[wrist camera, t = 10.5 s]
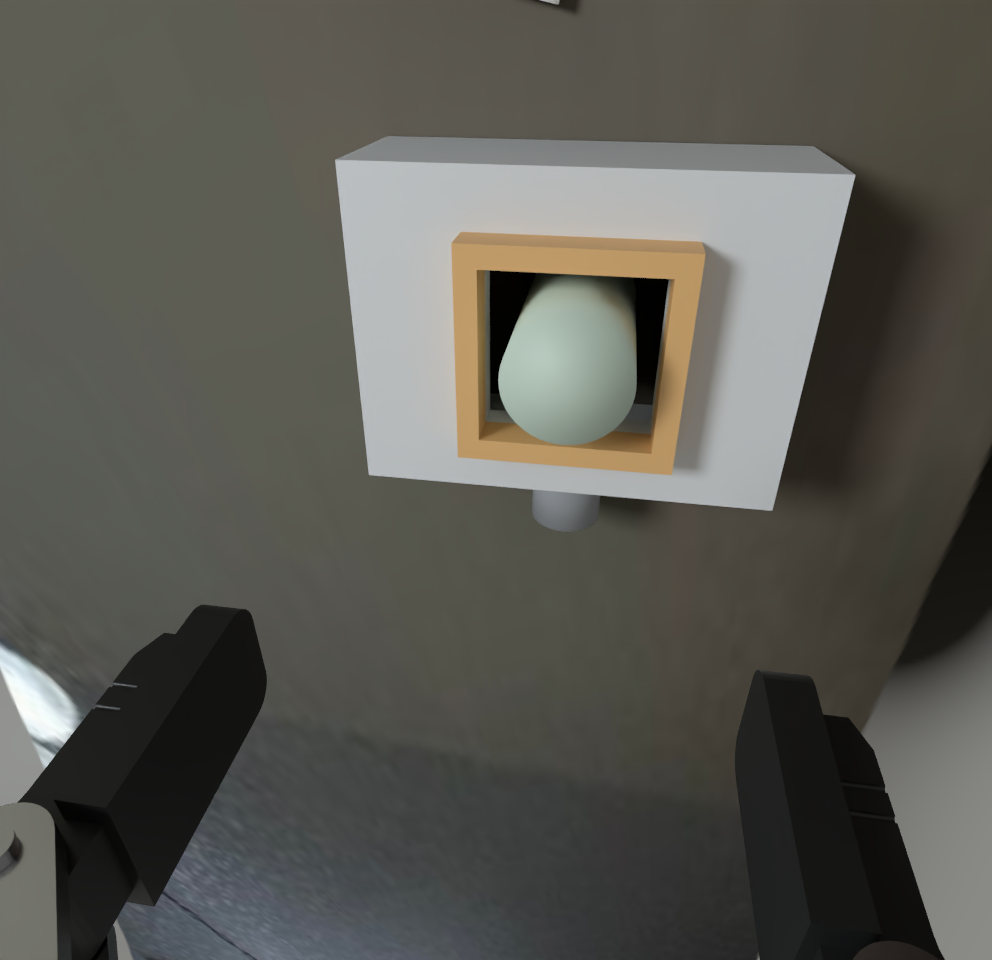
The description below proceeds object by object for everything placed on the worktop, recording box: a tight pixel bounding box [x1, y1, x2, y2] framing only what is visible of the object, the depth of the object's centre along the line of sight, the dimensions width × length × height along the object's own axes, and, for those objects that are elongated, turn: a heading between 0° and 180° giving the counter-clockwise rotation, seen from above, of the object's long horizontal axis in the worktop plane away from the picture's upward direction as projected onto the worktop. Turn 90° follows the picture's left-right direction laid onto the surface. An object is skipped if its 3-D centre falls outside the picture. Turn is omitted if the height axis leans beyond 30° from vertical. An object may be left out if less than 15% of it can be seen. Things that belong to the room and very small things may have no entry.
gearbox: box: [335, 136, 855, 531], centre depth 28 cm, size 15×16×8 cm
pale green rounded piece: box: [498, 273, 637, 445], centre depth 27 cm, size 4×4×9 cm
